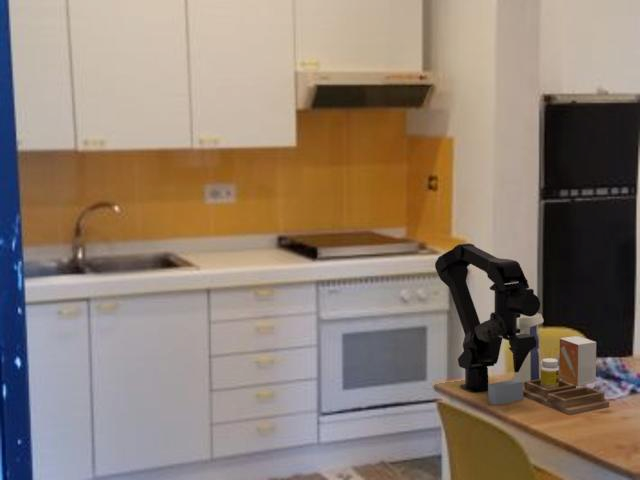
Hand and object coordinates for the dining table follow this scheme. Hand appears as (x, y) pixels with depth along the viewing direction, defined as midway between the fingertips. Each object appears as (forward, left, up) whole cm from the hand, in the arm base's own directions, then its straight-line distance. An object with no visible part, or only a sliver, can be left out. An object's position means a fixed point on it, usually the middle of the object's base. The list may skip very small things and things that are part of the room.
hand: (505, 367), depth 233 cm
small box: (-1, +25, -9) cm, 27 cm away
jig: (+7, +13, -9) cm, 17 cm away
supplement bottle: (+2, +13, -8) cm, 15 cm away
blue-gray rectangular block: (0, 0, -9) cm, 9 cm away
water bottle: (-10, +15, -9) cm, 20 cm away
